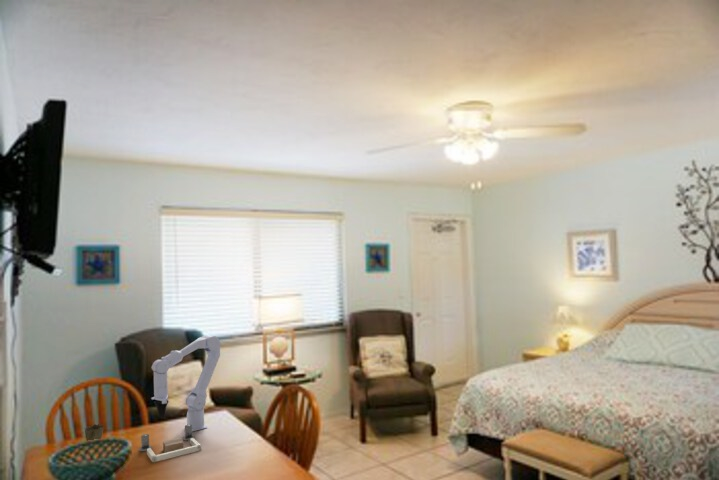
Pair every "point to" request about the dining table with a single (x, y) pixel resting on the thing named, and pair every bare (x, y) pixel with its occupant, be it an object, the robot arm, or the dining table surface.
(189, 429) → the post
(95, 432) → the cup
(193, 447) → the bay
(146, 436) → the post
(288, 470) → the dining table surface
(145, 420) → the dining table surface
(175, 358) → the robot arm
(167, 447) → the walnut block
